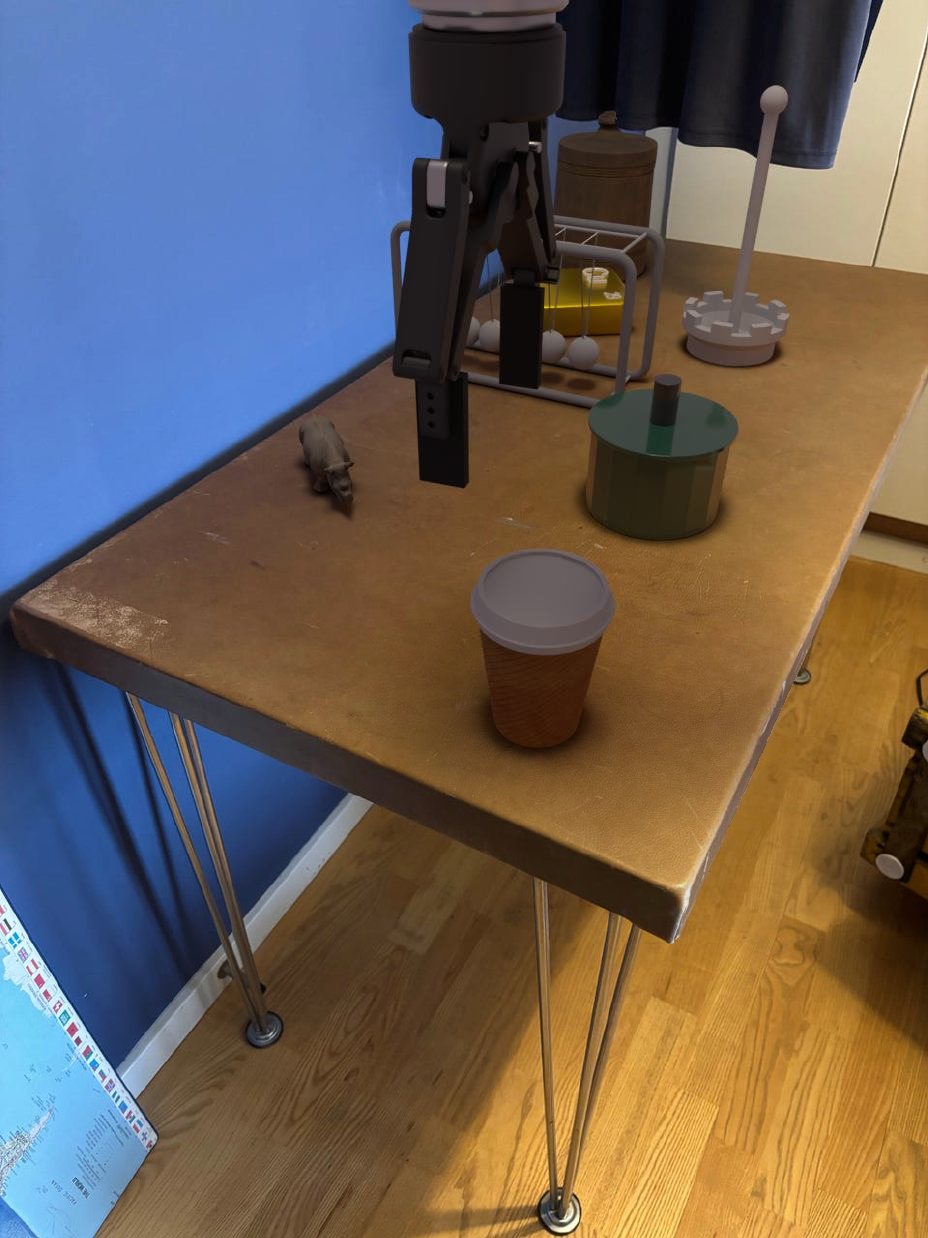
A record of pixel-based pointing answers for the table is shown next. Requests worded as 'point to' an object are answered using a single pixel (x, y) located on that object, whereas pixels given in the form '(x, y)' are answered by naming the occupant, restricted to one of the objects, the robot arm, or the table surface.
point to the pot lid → (663, 423)
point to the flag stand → (742, 280)
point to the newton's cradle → (554, 345)
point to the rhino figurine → (327, 456)
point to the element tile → (585, 302)
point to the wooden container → (605, 188)
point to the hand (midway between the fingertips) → (485, 429)
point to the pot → (653, 493)
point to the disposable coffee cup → (540, 640)
